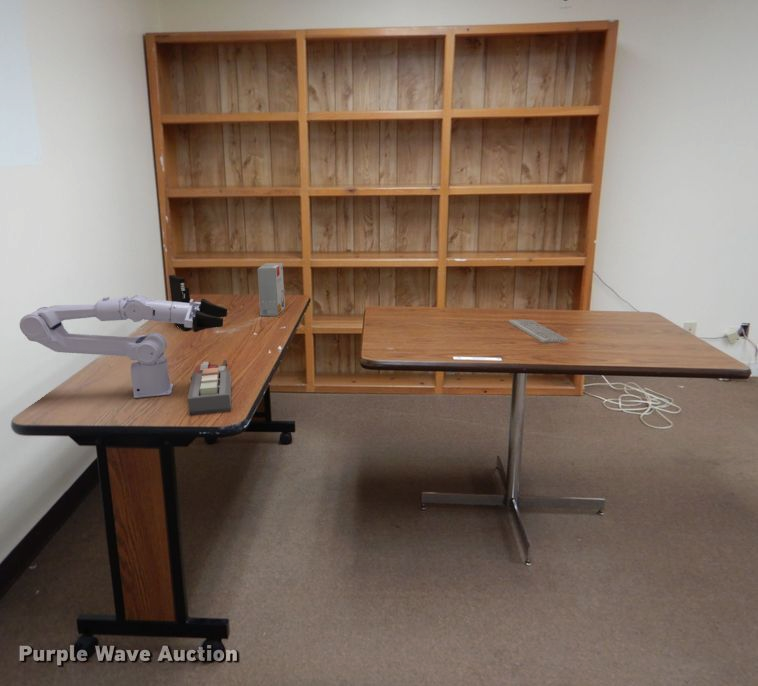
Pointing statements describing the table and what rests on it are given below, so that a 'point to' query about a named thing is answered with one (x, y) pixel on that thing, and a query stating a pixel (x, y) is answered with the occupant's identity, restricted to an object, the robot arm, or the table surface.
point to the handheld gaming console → (179, 294)
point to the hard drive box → (271, 289)
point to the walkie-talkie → (207, 365)
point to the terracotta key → (210, 372)
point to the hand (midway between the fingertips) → (224, 317)
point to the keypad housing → (213, 401)
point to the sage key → (208, 388)
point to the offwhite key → (210, 379)
